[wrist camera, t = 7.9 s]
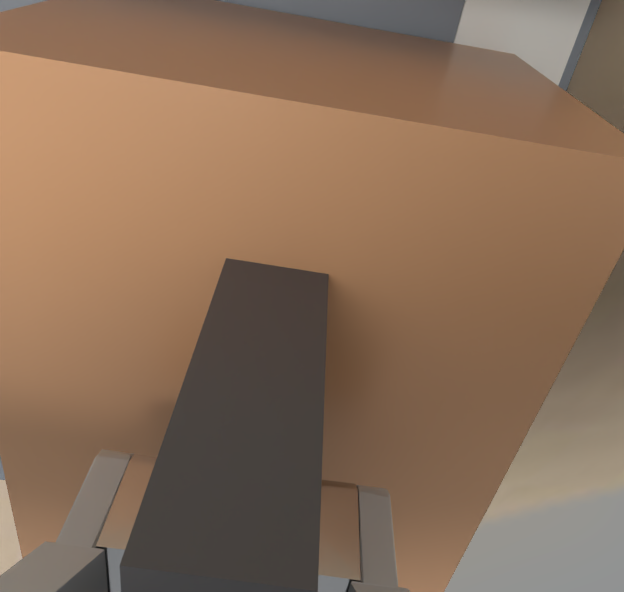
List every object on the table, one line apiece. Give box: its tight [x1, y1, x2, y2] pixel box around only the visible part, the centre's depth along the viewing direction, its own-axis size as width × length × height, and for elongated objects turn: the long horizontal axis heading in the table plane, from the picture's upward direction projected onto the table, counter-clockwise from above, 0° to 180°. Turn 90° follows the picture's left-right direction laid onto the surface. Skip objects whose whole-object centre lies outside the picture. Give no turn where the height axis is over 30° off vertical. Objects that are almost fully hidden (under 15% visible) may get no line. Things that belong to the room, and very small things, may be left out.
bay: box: [0, 0, 602, 480], centre depth 16 cm, size 26×19×4 cm
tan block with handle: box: [0, 0, 624, 592], centre depth 12 cm, size 10×12×13 cm
